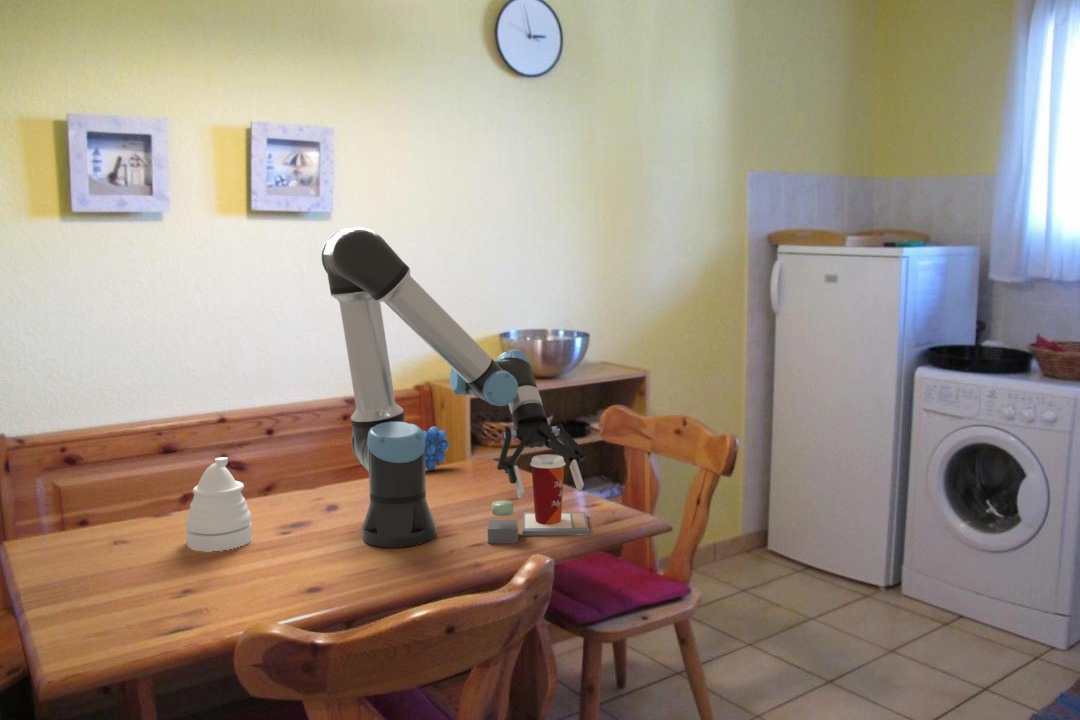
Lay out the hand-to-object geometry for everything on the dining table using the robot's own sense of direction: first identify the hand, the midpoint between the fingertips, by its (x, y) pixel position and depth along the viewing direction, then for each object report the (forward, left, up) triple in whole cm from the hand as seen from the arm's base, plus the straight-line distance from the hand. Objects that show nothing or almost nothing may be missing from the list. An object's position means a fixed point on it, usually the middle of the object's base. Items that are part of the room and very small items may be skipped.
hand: (551, 492), depth 193 cm
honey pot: (-69, -6, -8) cm, 70 cm away
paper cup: (-1, +2, -7) cm, 8 cm away
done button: (-10, -6, -3) cm, 12 cm away
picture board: (+1, +2, -8) cm, 9 cm away
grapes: (-32, +51, -8) cm, 61 cm away
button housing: (-10, -6, -8) cm, 14 cm away
